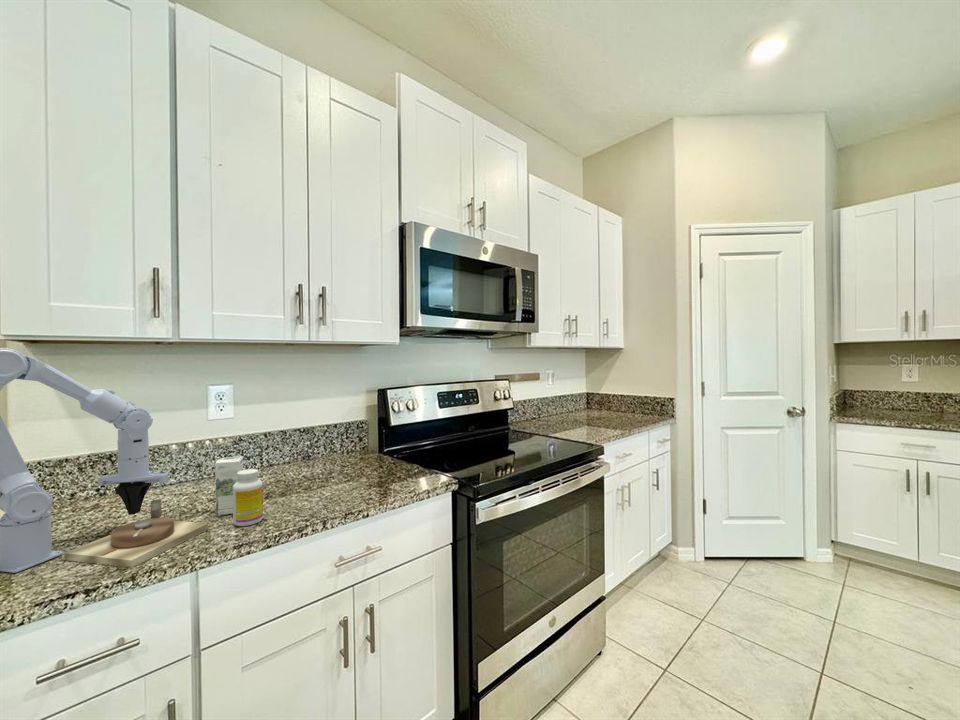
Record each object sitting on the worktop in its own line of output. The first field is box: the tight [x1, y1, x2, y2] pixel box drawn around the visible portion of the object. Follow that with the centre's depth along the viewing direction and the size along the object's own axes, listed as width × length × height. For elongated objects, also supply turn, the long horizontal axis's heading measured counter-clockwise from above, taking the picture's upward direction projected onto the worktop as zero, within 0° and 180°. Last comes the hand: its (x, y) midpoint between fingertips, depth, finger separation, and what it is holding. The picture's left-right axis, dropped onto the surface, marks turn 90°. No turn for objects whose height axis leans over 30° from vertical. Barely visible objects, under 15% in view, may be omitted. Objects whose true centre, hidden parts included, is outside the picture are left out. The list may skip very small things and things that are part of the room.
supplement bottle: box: [232, 468, 264, 527], centre depth 103 cm, size 7×7×13 cm
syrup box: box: [214, 455, 244, 517], centre depth 110 cm, size 6×6×14 cm
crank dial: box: [110, 499, 175, 548], centre depth 93 cm, size 15×11×5 cm
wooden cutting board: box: [63, 520, 209, 569], centre depth 91 cm, size 17×18×2 cm
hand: (134, 513), depth 98 cm, fingers closed
